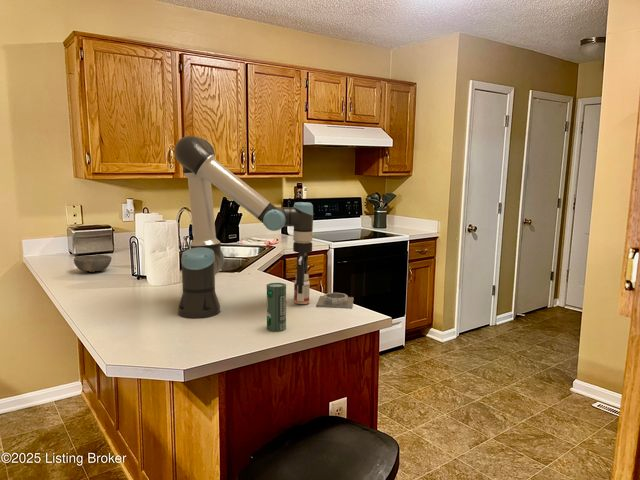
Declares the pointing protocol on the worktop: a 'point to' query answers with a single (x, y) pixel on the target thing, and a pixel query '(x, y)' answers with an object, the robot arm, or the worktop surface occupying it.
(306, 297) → the pill bottle
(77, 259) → the bowl
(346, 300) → the duct flange
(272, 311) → the can
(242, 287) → the worktop surface
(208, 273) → the robot arm
